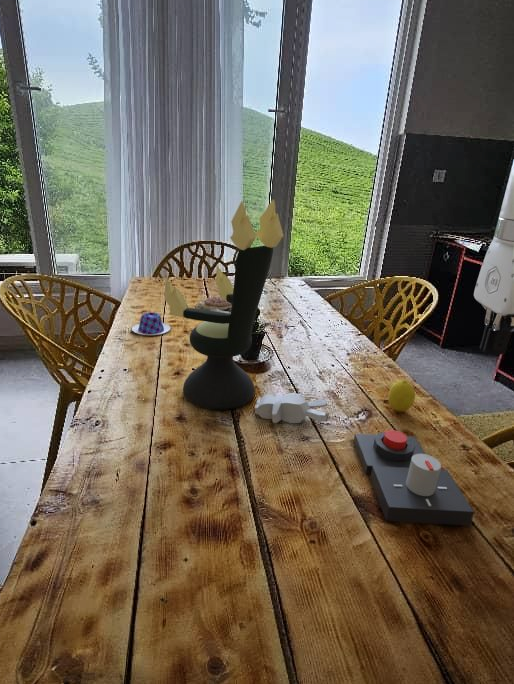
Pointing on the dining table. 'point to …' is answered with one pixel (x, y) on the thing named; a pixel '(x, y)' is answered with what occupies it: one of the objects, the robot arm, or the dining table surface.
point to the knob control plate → (419, 499)
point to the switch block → (384, 452)
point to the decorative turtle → (214, 304)
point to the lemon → (401, 396)
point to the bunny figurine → (289, 408)
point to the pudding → (151, 325)
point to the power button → (395, 439)
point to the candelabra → (229, 317)
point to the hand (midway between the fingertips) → (491, 351)
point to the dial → (423, 474)
